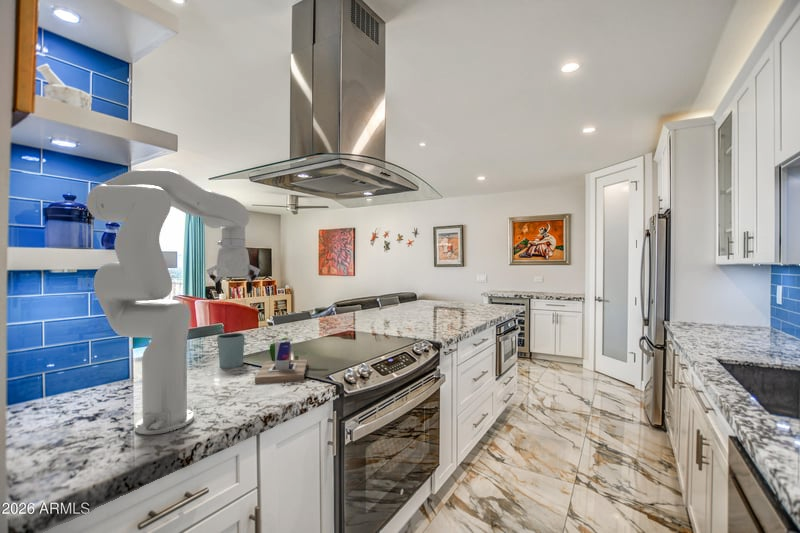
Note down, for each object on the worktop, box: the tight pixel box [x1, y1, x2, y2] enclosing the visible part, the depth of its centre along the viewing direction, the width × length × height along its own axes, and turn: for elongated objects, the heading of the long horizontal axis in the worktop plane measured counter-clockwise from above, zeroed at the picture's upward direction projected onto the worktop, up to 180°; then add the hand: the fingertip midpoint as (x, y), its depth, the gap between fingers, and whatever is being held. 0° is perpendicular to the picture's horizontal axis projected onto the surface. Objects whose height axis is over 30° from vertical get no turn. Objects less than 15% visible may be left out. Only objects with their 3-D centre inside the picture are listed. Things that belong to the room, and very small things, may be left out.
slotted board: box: [254, 359, 308, 384], centre depth 133 cm, size 20×16×2 cm
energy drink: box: [274, 339, 291, 370], centre depth 133 cm, size 5×5×12 cm
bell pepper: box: [269, 337, 292, 361], centre depth 147 cm, size 8×8×10 cm
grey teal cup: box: [216, 332, 245, 369], centre depth 144 cm, size 10×10×12 cm
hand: (234, 293), depth 126 cm, fingers open, 9 cm apart
